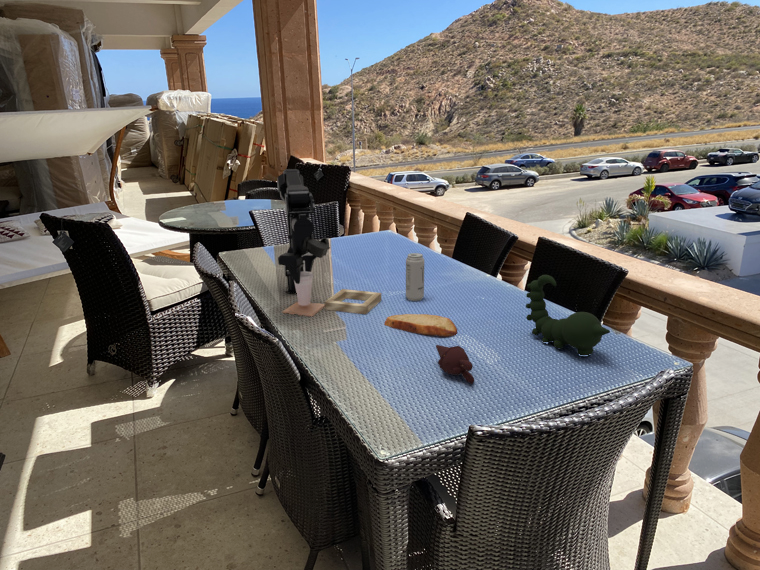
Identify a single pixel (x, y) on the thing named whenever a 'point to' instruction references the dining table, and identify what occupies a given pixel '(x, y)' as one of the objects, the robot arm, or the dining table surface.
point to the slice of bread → (423, 324)
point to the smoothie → (304, 287)
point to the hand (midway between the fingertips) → (303, 280)
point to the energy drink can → (415, 277)
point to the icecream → (455, 361)
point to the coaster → (304, 309)
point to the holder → (338, 305)
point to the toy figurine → (563, 322)
